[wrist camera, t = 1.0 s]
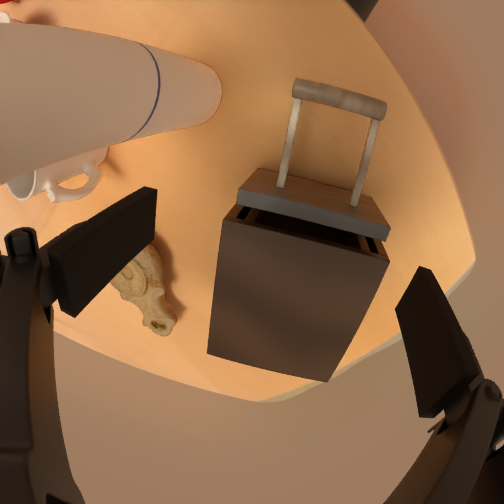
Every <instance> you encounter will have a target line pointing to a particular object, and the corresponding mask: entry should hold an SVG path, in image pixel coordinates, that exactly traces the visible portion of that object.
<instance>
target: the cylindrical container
mask: <svg viewBox="0 0 504 504" xmlns="http://www.w3.org/2000/svg"><path fill="white" fill-rule="evenodd" d="M221 97H222V86H221V83H220V79H219V78H218V76H217V74H216V73H215V72H214V71H213V70H212V69H211V68H210V67H208V66H207V65H205V64H202V63H200V62H197V61H194V60H192V59H189V58H186V57H183V56H180V55H178V54H175V53H172V52H169V51H165V50H162V49H159V48H156V47H153V46H149V45H146V44H142V43H138V42H135V41H131V40H127V39H123V38H119V37H115V36H110V35H106V34H101V33H96V32H91V31H85V30H79V29H73V28H66V27H59V26H50V25H40V24H27V23H0V185H2V184H4V183H6V182H9V181H11V180H13V179H16V178H18V177H20V176H23V175H25V174H27V173H30V172H32V171H35V170H38V169H40V168H43V167H45V166H48V165H51V164H53V163H56V162H59V161H62V160H65V159H68V158H71V157H74V156H77V155H80V154H83V153H86V152H89V151H93V150H96V149H99V148H103V147H106V146H110V145H114V144H117V143H121V142H125V141H129V140H133V139H137V138H141V137H145V136H150V135H154V134H159V133H163V132H168V131H173V130H178V129H184V128H189V127H195V126H198V125H201V124H202V123H204V122H206V121H207V120H208V119H210V118H211V117H212V116H213V115H214V113H215V112H216V110H217V109H218V107H219V104H220V102H221Z"/></svg>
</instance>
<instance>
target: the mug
mask: <svg viewBox="0 0 504 504" xmlns="http://www.w3.org/2000/svg"><path fill="white" fill-rule="evenodd" d="M108 147H109V146H106V147H103V148H99V149H96V150H93V151H89V152H86V153H83V154H80V155H77V156H74V157H71V158H68V159H65V160H62V161H59V162H56V163H53V164H51V165H48V166H45V167H43V168H40V169H38V170H35V171H32V172H30V173H27V174H25V175H23V176H20V177H18V178H16V179H13V180H11V181H9V182H6V186H7V188H8V189H9V191H10V193H11V194H12V195H13V196H14V197H15V198H16V199H18V200H20V201H25V200H27V199H29V198H31V197H33V196H35V195H37V194H39V193H41V192H43V191H45V190H46V191H47V192H48V194H47V196H48V198H49V199H50V200H51V202H52V203H55V202H59V201H73V200H78V199H81V198H84V197H85V196H87V195H88V194H90V193H91V192H92V191H93V189H94V188H95V187H96V185H97V183H98V182H99V180H100V179H101V177H102V175H103V172H102V170H101V169H100V168H99V167H98V165H100V164H101V163H102V162H103V161H104V159H105V157H106V155H107V152H108ZM83 172H84V173H85V174H86V175H87V176H88V177H89V181H88V183H87V184H85V185H84V186H83V187H81V188H79V189H73V190H72V189H65V188H62V187H60V186H59V185H58V184H59V183H61V182H63V181H65V180H68V179H70V178H72V177H74V176H76V175H79V174H81V173H83Z"/></svg>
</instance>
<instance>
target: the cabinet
mask: <svg viewBox="0 0 504 504" xmlns="http://www.w3.org/2000/svg"><path fill="white" fill-rule="evenodd" d="M251 208H252V207H248V206H243V205H239V204H235V205H234V206H233V208H232V209H231V210H230V211H229V213H228V214H227V215H226V216H225V218H224V219H223V222H222V230H221V237H220V245H219V252H218V260H217V268H216V276H215V284H214V293H213V301H212V310H211V319H210V328H209V338H208V348H207V354H209V355H213V356H216V357H220V358H223V359H227V360H230V361H234V362H238V363H241V364H245V365H249V366H253V367H257V368H261V369H265V370H269V371H274V372H278V373H282V374H287V375H292V376H296V377H301V378H306V379H311V380H317V381H322V382H328V381H329V379H330V378H331V376H332V374H333V373H334V371H335V369H336V368H337V366H338V364H339V362H340V361H341V359H342V357H343V355H344V354H345V352H346V350H347V348H348V347H349V345H350V343H351V341H352V339H353V337H354V336H355V334H356V332H357V330H358V328H359V326H360V324H361V322H362V320H363V318H364V316H365V314H366V312H367V310H368V308H369V306H370V304H371V302H372V300H373V298H374V296H375V294H376V292H377V290H378V288H379V285H380V283H381V281H382V279H383V277H384V274H385V272H386V270H387V267H388V265H389V263H390V260H389V258H388V256H387V253H386V251H385V249H384V247H383V244H382V242H381V240H377V239H374V238H370V237H366V236H365V239H366V242H367V244H368V247H369V250H370V252H369V251H365V250H361V249H358V248H354V247H350V246H346V245H343V244H339V243H335V242H331V241H327V240H323V239H319V238H315V237H311V236H308V235H304V234H300V233H296V232H291V231H287V230H283V229H279V228H275V227H271V226H267V225H263V224H259V223H254V222H250V221H246V220H245V218H246V217H247V215H248V213H249V212H250V210H251Z"/></svg>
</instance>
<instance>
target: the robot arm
mask: <svg viewBox="0 0 504 504" xmlns="http://www.w3.org/2000/svg"><path fill="white" fill-rule="evenodd" d="M156 202H157V189H153V188H149V187H145V186H144V187H142V188H140V189H139V190H137V191H135V192H133V193H132V194H130V195H128V196H126V197H125V198H123V199H121V200H120V201H118V202H116V203H115V204H113V205H111V206H110V207H108V208H106V209H105V210H103V211H101V212H100V213H98V214H97V215H95V216H93V217H92V218H90V219H89V220H87V221H84V222H81V223H78V224H75V225H73V226H72V227H70V228H69V229H67V230H66V232H65V231H64V232H63V233H61V234H60V235H59V236H57V237H55V238H54V239H52V240H51V241H49V242H48V243H47V244H45V245H44V246H42V247H41V248H40V249H39V246H38V241H37V235H36V231H35V230H34V229H33V228H30V227H22V228H17V229H15V230H13V231H11V232H9V233H8V234H7V235H6V236H5V238H4V240H5V245H6V249H7V253H8V256H5V255H1V251H0V504H85V501H84V499H83V496H82V494H81V492H80V490H79V488H78V487H77V485H76V483H75V482H74V479H73V477H72V474H71V470H70V466H69V462H68V458H67V454H66V449H65V445H64V439H63V434H62V428H61V422H60V416H59V409H58V401H57V392H56V382H55V368H54V346H53V343H54V342H53V320H54V310H53V306H52V303H53V302H55V301H56V300H57V299H58V302H59V306H60V309H61V311H63V312H65V313H66V314H68V315H70V316H72V317H74V318H75V317H76V316H77V315H78V314H79V313H80V312H81V311H82V310H83V309H84V308H85V307H86V306H87V305H88V304H89V303H90V302H91V300H92V299H93V298H94V297H95V296H96V295H97V294H98V293H99V292H100V291H101V290H102V289H103V288H104V287H105V286H106V285H107V284H108V283H109V282H110V281H111V280H112V279H113V278H114V277H115V276H116V275H117V274H118V273H119V272H120V271H121V270H122V269H123V268H124V267H125V266H126V265H127V264H128V263H129V262H130V261H131V260H132V259H134V258H135V257H136V256H137V255H138V254H139V253H140V252H141V251H142V250H143V249H144V248H145V247H146V246H147V245H148V244H149V243H150V242H152V241H153V240H154V234H155V217H156ZM395 311H396V315H397V318H398V322H399V325H400V329H401V333H402V337H403V341H404V345H405V349H406V352H407V357H408V361H409V366H410V370H411V375H412V380H413V385H414V390H415V395H416V401H417V407H418V413H419V417H422V418H434V417H436V416H437V415H438V414H439V413H440V412H441V411H442V410H443V409H444V412H445V417H444V418H443V419H441V420H440V421H439V422H438V423H437V424H436V425H434V426H433V427H432V428H430V430H428V433H430V432H431V431H432V430H434V432H433V434H432V435H431V437H430V439H429V441H428V442H427V444H426V445H425V447H424V449H423V450H422V452H421V453H420V455H419V457H418V458H417V460H416V461H415V462H414V464H413V465H412V467H411V468H410V470H409V471H408V472H407V474H406V475H405V477H404V478H403V479H402V481H401V482H400V484H399V485H398V486H397V487H396V488H395V490H394V491H393V492H392V494H391V495H390V496H389V497H388V499H387V500H386V501H385V502H384V503H383V504H504V445H503V446H502V447H501V448H499V449H498V450H496V445H497V444H498V443H500V442H501V441H502V440H503V439H504V399H503V398H502V393H501V391H500V389H499V387H498V386H497V385H496V384H495V382H493V381H492V380H489V379H485V378H484V376H483V373H482V370H481V368H480V365H479V363H478V360H477V358H476V356H475V353H474V350H473V349H472V346H471V344H470V341H469V339H468V337H467V336H466V335H465V333H464V332H463V331H462V329H461V327H460V325H459V323H458V321H457V319H456V317H455V314H454V313H453V310H452V308H451V306H450V304H449V302H448V300H447V298H446V296H445V295H444V293H443V291H442V289H441V287H440V285H439V283H438V281H437V280H436V278H435V276H434V274H433V273H432V271H431V270H430V269H427V268H424V267H421V266H419V267H418V269H417V271H416V273H415V275H414V276H413V278H412V280H411V282H410V284H409V286H408V287H407V289H406V291H405V293H404V294H403V296H402V298H401V300H400V301H399V303H398V305H397V306H396V308H395Z"/></svg>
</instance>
